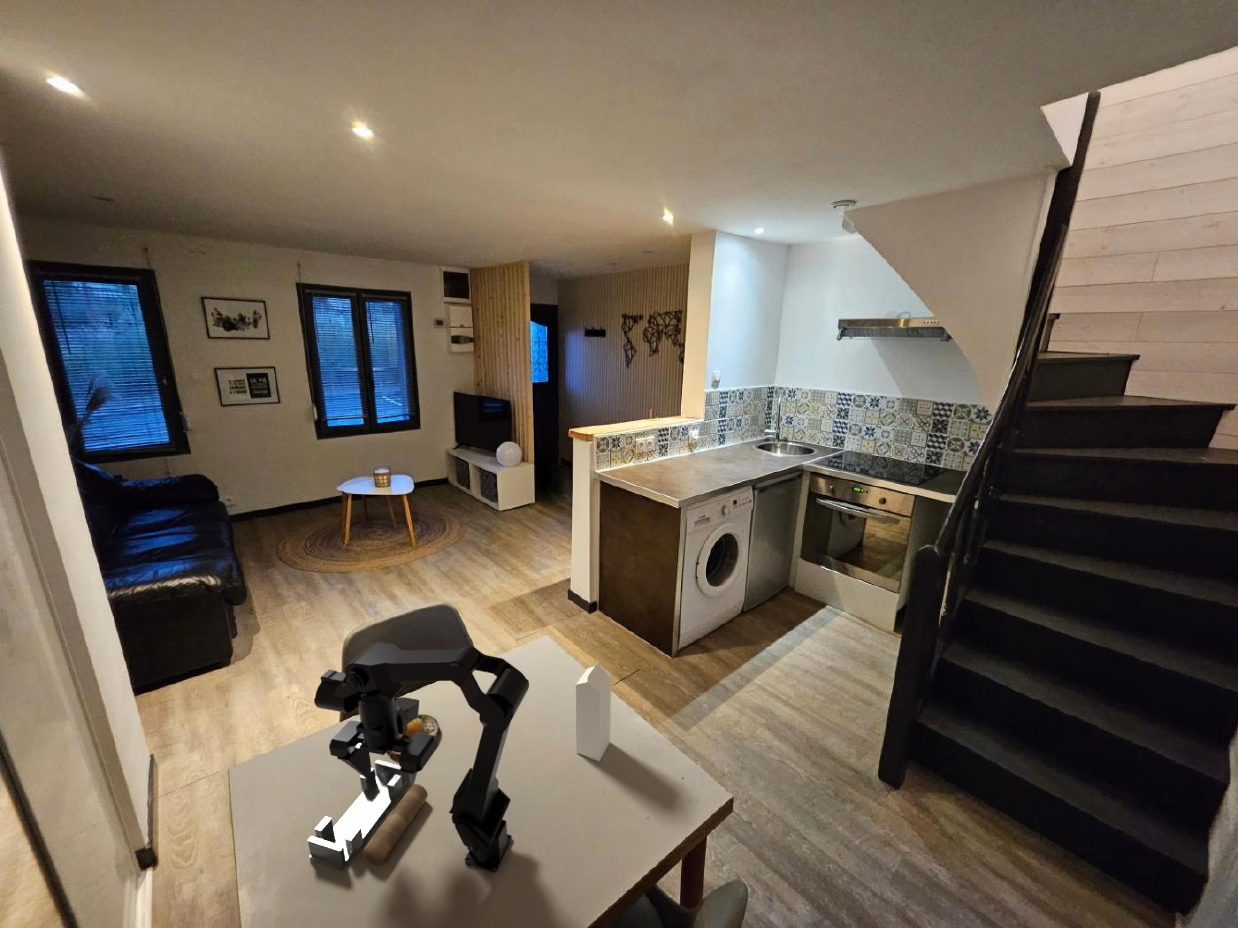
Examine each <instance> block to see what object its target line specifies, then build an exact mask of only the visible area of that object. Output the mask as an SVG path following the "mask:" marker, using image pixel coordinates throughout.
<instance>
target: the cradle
mask: <svg viewBox="0 0 1238 928" xmlns="http://www.w3.org/2000/svg"><path fill="white" fill-rule="evenodd" d="M400 768H401V767H400V766H399V764H395V763H392V762H389V761H385V760H381V759H377V760H376V761H375V762H374V767H371V775H370V777H369V778H368V779H367V778H365V777H363V776H362V775H361V774H360V777H359V778H360V779H359V780H360V785H361V790H362V792H361V794H360V795H358V797H357V799H356V800H354V802H353V803H352V805H351V806H350V807H349V808H348V809H347V810H346V812H345V813H344V814H343V816H341V818H340V819H339V820H338V821H337V823H336V824H335V825H334V823H333V818H332V817H328V816H324V818H322V820H321V821H320V822H319V823H318V824H317V826H316V827H315V828H314V831H315V836H316V837H315V836H313V835H311V836H310V837H309V838H308V839H307V844H308V848H309V853H310V855H309V861H311V862H313V863H316V864H319V865H323V866H324V867H325V866H326V867H327V868H328V867H329V868H331V869H334V870H336V871H339V872H343V871H344V869H345V868H346V867H347V866H348V864H349V863H350V862H351V860H352V858H353V857H354V856H355V855H356V853H358V851H359V850H360V848H361V847H362V845H363V844H364V843H365V841H366V840H367V839H368V837H369V836H370V834H371V833H372V832H373V831H374V830H375V828H377V826H378V825H379V823H380V822H381V820H382V819H383V818H384V817H385V815H386V813H387V812H388V811H389V810H390V809H391V807H392V806H393V804H394V803H395V801H396V800H397V799H398V798H399V796H400V795H401V793H402V792H403V790H405V788H406V787H407V786H408V785H407V784H406V782H405V780H404V778H403V777H402V775H401V773H400V771H399V770H400Z"/></svg>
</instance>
